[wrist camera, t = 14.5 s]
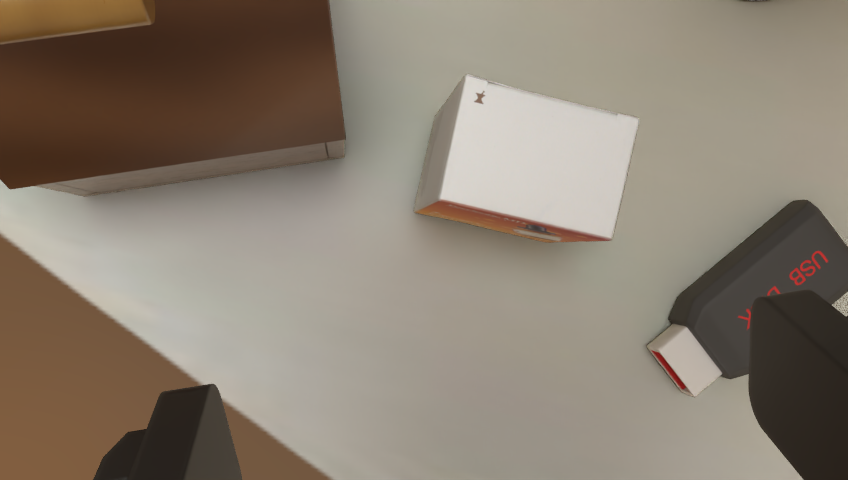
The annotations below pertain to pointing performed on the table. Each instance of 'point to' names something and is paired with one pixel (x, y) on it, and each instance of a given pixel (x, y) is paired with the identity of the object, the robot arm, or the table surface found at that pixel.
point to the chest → (200, 169)
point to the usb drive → (748, 295)
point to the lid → (160, 83)
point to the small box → (526, 163)
